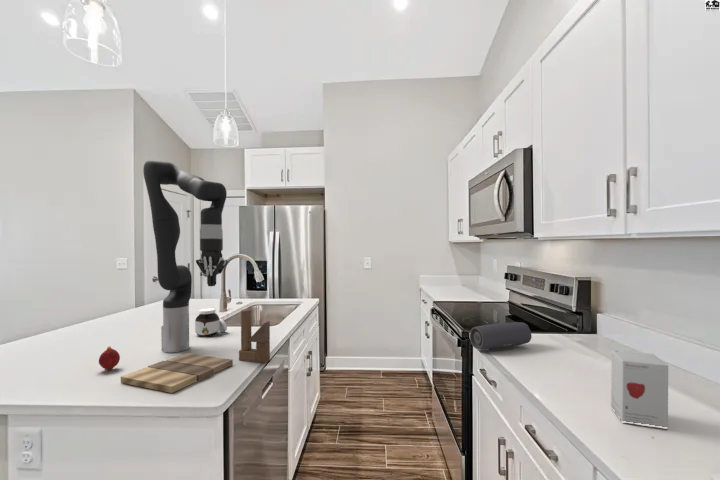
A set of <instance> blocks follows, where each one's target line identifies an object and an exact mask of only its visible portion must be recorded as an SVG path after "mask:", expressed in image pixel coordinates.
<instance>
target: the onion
mask: <svg viewBox="0 0 720 480" xmlns="http://www.w3.org/2000/svg"><path fill="white" fill-rule="evenodd" d="M120 359H121V355H120V353H119V352H118V351H117V350H116V349H113V348H112V347H111V346H110V345H109V346H107V347H106V350H104V351H103V352H102V353H101V354H100V356H99V358H98V365H100V367H101V368H103V369H104V370H107V371H111V370H112V369H114V368H115V367H116V366H118V364H119V362H120Z"/></svg>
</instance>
